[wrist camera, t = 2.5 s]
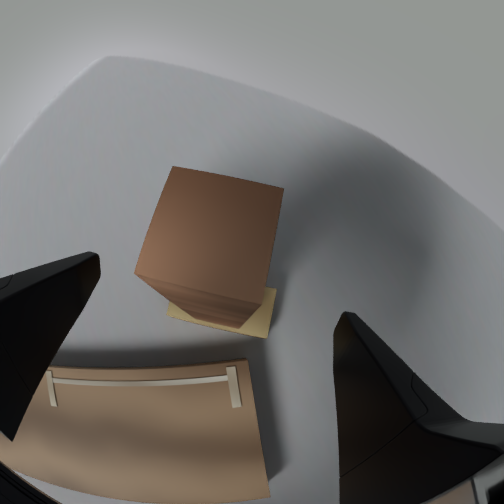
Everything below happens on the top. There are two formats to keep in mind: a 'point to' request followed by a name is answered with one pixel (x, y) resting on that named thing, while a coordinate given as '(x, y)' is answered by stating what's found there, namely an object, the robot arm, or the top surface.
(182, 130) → the top surface
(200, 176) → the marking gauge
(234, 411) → the tan wooden flat board
